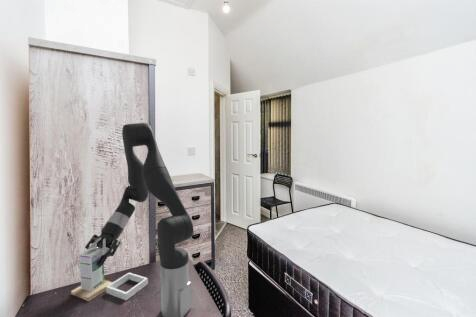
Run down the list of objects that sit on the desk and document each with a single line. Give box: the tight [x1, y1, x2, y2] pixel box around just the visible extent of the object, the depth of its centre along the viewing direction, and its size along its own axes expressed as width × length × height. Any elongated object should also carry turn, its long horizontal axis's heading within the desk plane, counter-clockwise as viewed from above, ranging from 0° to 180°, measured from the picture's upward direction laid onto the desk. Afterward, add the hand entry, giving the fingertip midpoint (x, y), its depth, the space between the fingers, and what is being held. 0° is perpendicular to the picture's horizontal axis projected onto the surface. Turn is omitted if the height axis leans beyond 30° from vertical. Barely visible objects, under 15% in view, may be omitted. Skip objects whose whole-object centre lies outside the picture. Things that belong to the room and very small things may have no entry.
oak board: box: [70, 279, 114, 302], centre depth 89 cm, size 10×10×1 cm
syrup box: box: [78, 247, 106, 291], centre depth 89 cm, size 6×6×14 cm
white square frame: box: [105, 272, 149, 301], centre depth 90 cm, size 11×11×2 cm
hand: (90, 263), depth 88 cm, fingers open, 8 cm apart
